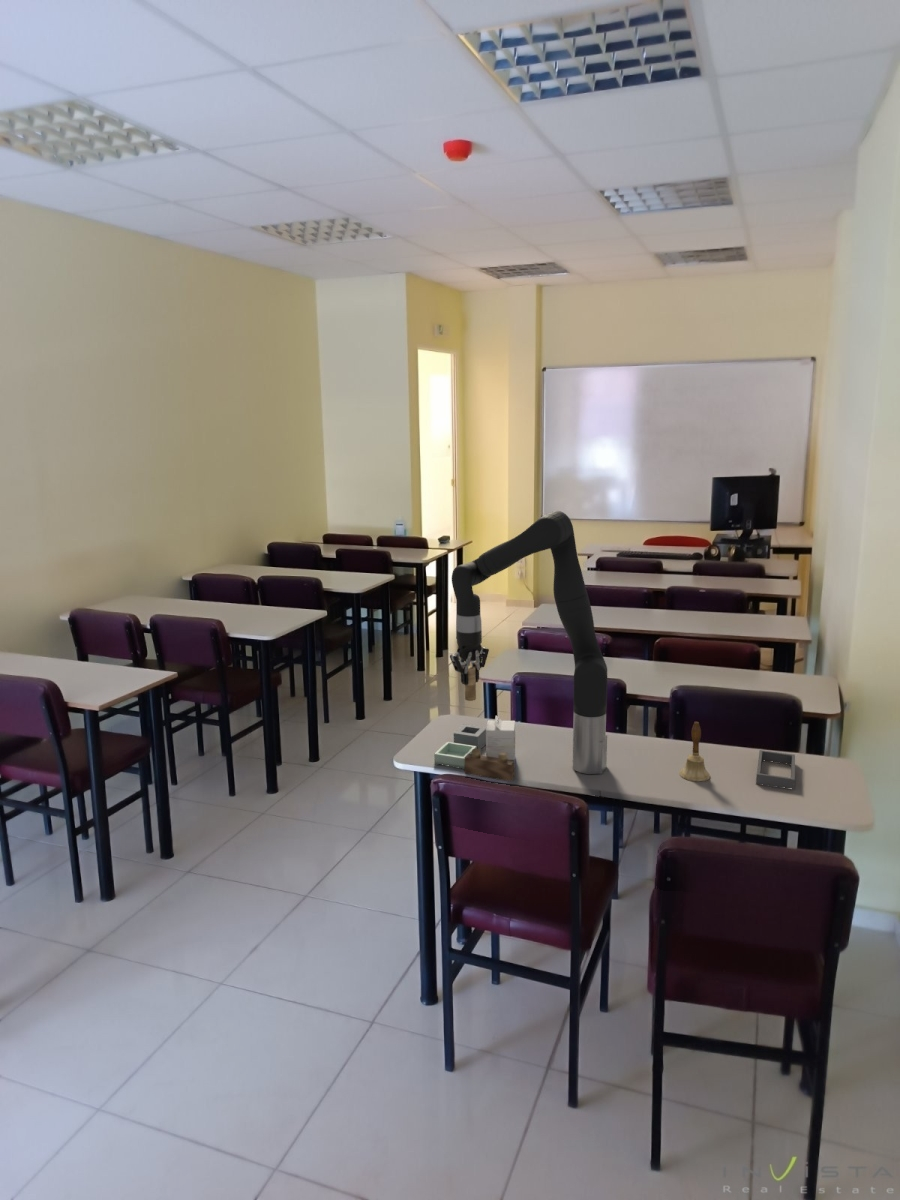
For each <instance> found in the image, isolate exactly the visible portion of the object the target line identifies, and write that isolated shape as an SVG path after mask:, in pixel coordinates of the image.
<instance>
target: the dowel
mask: <svg viewBox="0 0 900 1200" xmlns="http://www.w3.org/2000/svg"><path fill="white" fill-rule="evenodd" d="M467 673H468V685H464V700H465V701H469V702H470V701H472V702H473V701H475V700H476V699H477V689H476V687H477V685H476V683H477V682H476V674H475V667H474V666H472V665H470V666H468V672H467Z"/></svg>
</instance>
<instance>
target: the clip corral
mask: <svg viewBox="0 0 900 1200" xmlns="http://www.w3.org/2000/svg"><path fill="white" fill-rule="evenodd" d="M758 751H759V752H758V759H757V767H756V768H757V769H756V770H757V771H756V779H755V785H758V784H763V785H762V786H764V785H769V786H768V787H771V786H777V787H776V788H778V787H785V788H792V789H794V790H795V781H796V779H795V778H796V777H795V776H796V754H792V753H786V752H785V753H784V752H778V751H771V750H763V749H759V750H758ZM762 760H765V761H764V762H766V761H773V762H780V763H787V764H791V765H790V777H788V776H787V777H786V776H780V775H773V774H768V773H767V774H766V773H761V770H762V762H763V761H762ZM773 762H772V763H773ZM780 763H779V764H780ZM787 764H786V765H787Z"/></svg>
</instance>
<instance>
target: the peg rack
mask: <svg viewBox="0 0 900 1200" xmlns="http://www.w3.org/2000/svg"><path fill="white" fill-rule="evenodd" d="M481 753H482V752H481V749H473V750H472V754H470V753H468V755H467V756H466V757H465V769H464V774H465V775H472V776H475V777H476V776H477V777H484V778H489V779H497V780H501V781H508V782H512V781H513V780H514V779H515V777H516V776H515V774H516V772H515V770H516V769H515V766H516V760H515V761H514V760H508V759H507V754H506V753H499V758H495V757H489V756H486V755H481Z"/></svg>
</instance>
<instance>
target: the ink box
mask: <svg viewBox="0 0 900 1200" xmlns="http://www.w3.org/2000/svg"><path fill="white" fill-rule="evenodd" d="M485 727H486V744H485V756H489V757H495V758H499V753H506V754H507V759H508V760H514V761H515V762H516V721H515V720H502V719H501V718H500V717H499V716H497V715H495V718H494V719H493V720H491V719H489V720H487V723H486V726H485Z"/></svg>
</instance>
